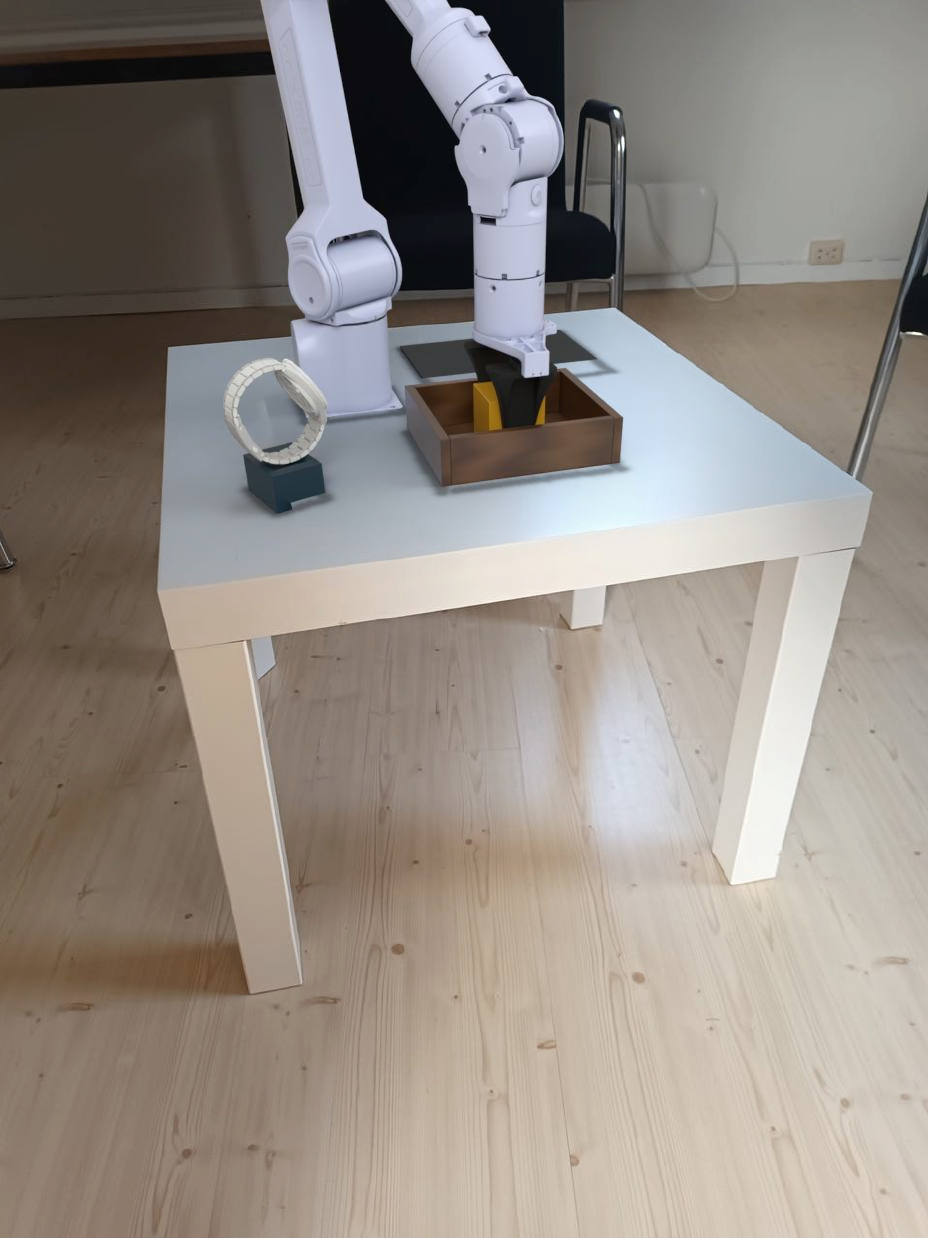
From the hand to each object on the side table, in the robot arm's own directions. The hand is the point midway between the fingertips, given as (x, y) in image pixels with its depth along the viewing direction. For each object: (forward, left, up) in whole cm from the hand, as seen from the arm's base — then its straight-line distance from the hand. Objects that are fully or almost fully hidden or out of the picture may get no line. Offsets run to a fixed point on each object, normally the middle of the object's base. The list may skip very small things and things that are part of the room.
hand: (508, 432), depth 82 cm
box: (0, 0, -2) cm, 2 cm away
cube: (0, 0, -1) cm, 1 cm away
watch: (-20, -3, -2) cm, 20 cm away
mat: (+7, +25, -2) cm, 26 cm away
